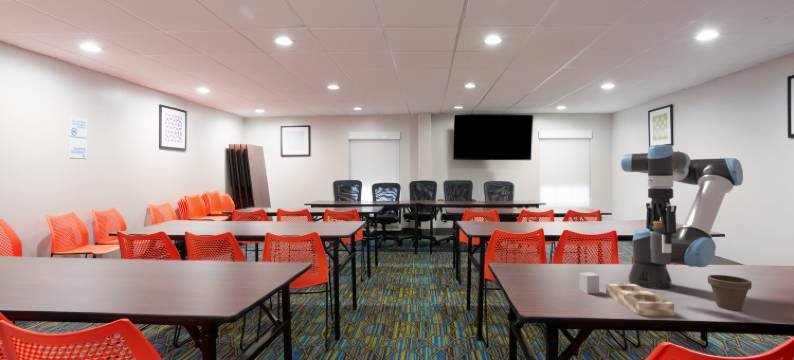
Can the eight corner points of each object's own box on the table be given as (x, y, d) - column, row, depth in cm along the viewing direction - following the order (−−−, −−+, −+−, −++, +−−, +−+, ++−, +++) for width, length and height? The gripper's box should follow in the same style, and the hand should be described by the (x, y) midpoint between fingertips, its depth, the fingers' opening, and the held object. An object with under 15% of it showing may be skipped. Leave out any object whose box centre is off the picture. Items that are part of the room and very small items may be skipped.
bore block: (635, 294, 143) (635, 284, 143) (674, 315, 121) (674, 303, 121) (606, 294, 144) (605, 283, 144) (639, 315, 122) (639, 303, 122)
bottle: (667, 261, 138) (667, 221, 138) (673, 265, 132) (673, 223, 132) (648, 260, 140) (648, 220, 139) (654, 263, 134) (653, 222, 134)
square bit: (591, 289, 150) (591, 272, 150) (599, 293, 145) (599, 275, 145) (579, 290, 150) (579, 272, 150) (587, 293, 145) (587, 276, 145)
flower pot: (714, 299, 137) (714, 272, 136) (756, 308, 127) (756, 279, 127) (702, 305, 130) (702, 277, 130) (745, 315, 121) (745, 285, 121)
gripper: (634, 187, 145) (635, 245, 146) (666, 188, 126) (666, 256, 127) (654, 186, 145) (655, 245, 145) (689, 188, 126) (690, 256, 126)
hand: (660, 250), depth 136 cm, fingers closed on bottle, 6 cm apart
